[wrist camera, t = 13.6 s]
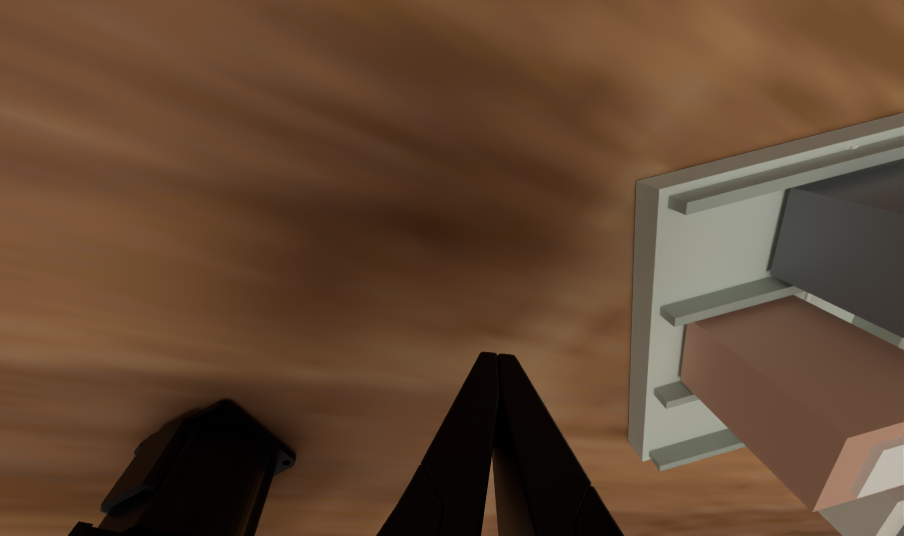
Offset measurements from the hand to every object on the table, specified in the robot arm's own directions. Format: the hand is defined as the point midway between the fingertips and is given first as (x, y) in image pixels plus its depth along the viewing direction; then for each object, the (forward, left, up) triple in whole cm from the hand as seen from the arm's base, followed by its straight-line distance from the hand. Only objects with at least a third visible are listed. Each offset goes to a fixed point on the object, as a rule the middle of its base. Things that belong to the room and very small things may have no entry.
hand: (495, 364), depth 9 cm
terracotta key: (-14, -12, -8) cm, 20 cm away
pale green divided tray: (-15, -14, -10) cm, 23 cm away
